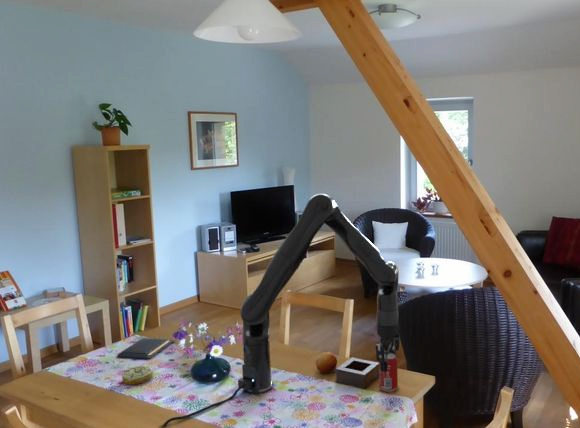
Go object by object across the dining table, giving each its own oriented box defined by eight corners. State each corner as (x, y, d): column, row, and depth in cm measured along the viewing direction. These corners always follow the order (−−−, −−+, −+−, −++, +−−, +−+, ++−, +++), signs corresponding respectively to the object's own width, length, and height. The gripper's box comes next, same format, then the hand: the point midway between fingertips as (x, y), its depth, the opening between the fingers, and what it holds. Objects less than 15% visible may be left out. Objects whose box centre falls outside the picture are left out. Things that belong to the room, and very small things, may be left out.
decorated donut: (117, 380, 209) (116, 370, 208) (145, 371, 216) (144, 361, 216) (129, 388, 201) (128, 378, 201) (158, 378, 209) (157, 369, 208)
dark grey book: (143, 335, 249) (174, 337, 245) (143, 339, 249) (175, 341, 246) (114, 352, 230) (148, 355, 226) (115, 357, 230) (148, 360, 226)
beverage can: (400, 386, 199) (399, 353, 197) (393, 394, 193) (393, 360, 191) (383, 383, 201) (382, 351, 199) (376, 390, 196) (376, 357, 194)
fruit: (341, 371, 209) (330, 353, 208) (323, 382, 209) (312, 364, 208) (342, 362, 217) (331, 345, 216) (325, 372, 217) (313, 355, 216)
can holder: (364, 388, 197) (364, 375, 197) (336, 382, 203) (335, 368, 202) (379, 375, 207) (379, 362, 207) (352, 370, 213) (351, 357, 212)
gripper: (386, 313, 202) (387, 358, 204) (368, 325, 189) (368, 373, 192) (406, 316, 198) (406, 362, 200) (388, 329, 186) (389, 377, 188)
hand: (388, 367), depth 196 cm, fingers closed on beverage can, 6 cm apart
